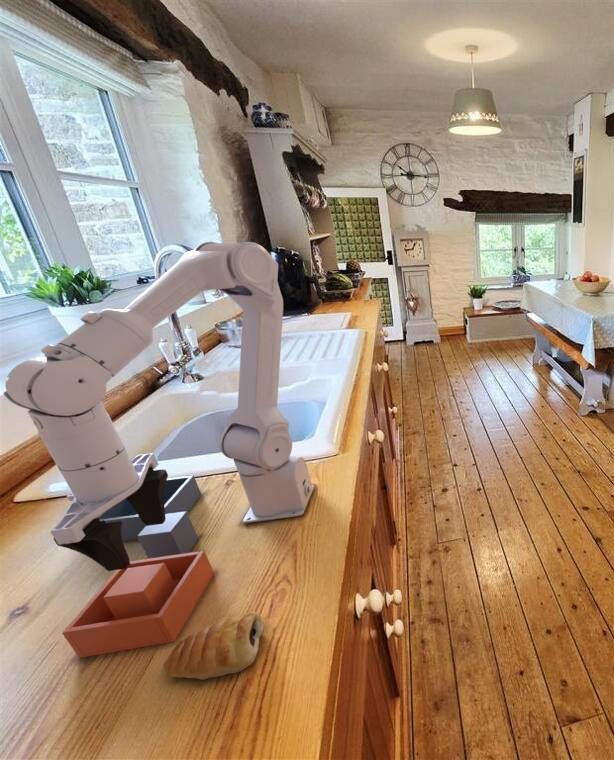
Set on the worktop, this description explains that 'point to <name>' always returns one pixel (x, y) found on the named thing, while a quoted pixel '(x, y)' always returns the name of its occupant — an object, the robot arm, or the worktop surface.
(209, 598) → the worktop surface
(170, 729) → the worktop surface
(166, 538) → the slate block
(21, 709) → the worktop surface
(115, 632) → the terracotta bin
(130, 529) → the slate bin
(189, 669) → the pastry
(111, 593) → the terracotta block
